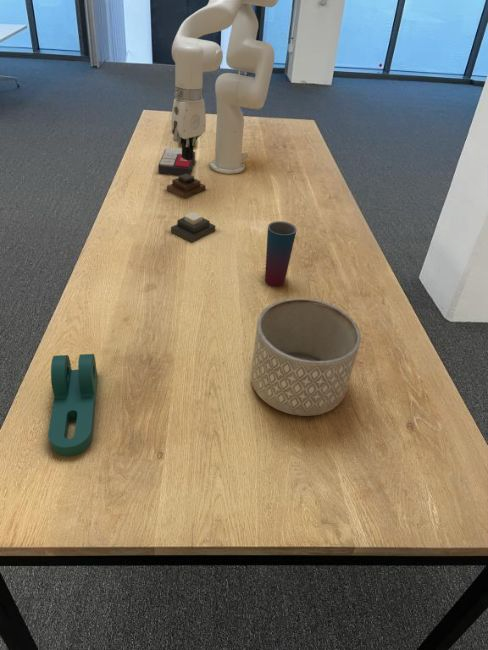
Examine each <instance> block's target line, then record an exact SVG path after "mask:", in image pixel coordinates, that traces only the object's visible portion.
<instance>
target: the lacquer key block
mask: <svg viewBox="0 0 488 650" xmlns="http://www.w3.org/2000/svg"><path fill="white" fill-rule="evenodd" d="M215 231H216V224H213V223H211V221H210V220H209V219H206V218H204V217H203V218H202V222H200V223H198V224H196V225H192V224H190V223H188V222H186V221H185V216H183V217H182V218H178V219H177V220H176V224H174V225H172V226H170V233H171V234H174V235H175V236H178V237H179V238H182V239H184V240H186V241H187V242H190V243H193V242H195V241H197V240H199V239H201V238H203V237H205V236H207V235H209V234H211V233H213V232H215Z"/></svg>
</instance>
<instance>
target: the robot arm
mask: <svg viewBox="0 0 488 650" xmlns="http://www.w3.org/2000/svg"><path fill="white" fill-rule="evenodd" d="M278 2H279V0H208V3H207V4H206V5H205V6H204V7H202V8H200V9H198V10H196V11H195V12H194V13H192V14H191V15H189V16H188V17H186V18H185V19H184V20H183V22H181V24H180V26H179V28H178V30H177V32H176V35H175V36H174V40H173V42H172V45H171V57H172V58H171V59H172V60H173V62H174V63H175V64H174V65H175V66H174V68H175V69H174V71H175V73H174V84H175V85H174V91H173V96H174V99H173V104H172V109H171V123H170V125H171V134H172V135H173V137H172V140H173V141H174V142H175V143H179V144H180V145H181V150H182V158H183V159H186V160H188V161H189V160H192V159H193V151H194V147H195V145H196V142H197V140H198V139H199V138H201V136H202V135H204V134H205V133H206V125H207V119H206V118H207V116H206V104H205V99H204V98H203V81H204V73H205V72H206V73H207V72H210V73H211V72H214V71H215V72H216V70H218V69H219V68H220V66H221V65H222V63H223V57H224V52H223V49H222V47H221V46H220V45H219V44H218V43H217V42H215V41H211V40H207V39H201V37H203V36H205V35H209V34H214V33H218V32H221V31H224V30H227V29H229V28H230V27H231V29H230V32H229V33H230V34H229V37H228V44H227V49H226V53H225V55H226V56H225V62H226V63H225V64H226V65H227V67H229V68H230V69H232V70H235V71H240V72H246V73H250V74H254V75H255V76H250V75H244V74H239V73H233V72H225V73H221V74H220V75H218V77H217V78H216V80H215V85H214V92H215V101H216V127H215V146H214V147H215V149H214V159H213V160H212V161H210V168H211V169H212V170H213V171H215V172H217V173H221V174H226V175H227V174H228V175H234V174H239V173H242V172H244V170H245V169H246V165H245V163H244V162H243V161H244V160H245V159H247V158H248V157H249V153H248V152H243V138H244V128H245V127H244V126H245V116H244V114H243V111H242V108H245V109H250V110H261V109H262V108H263V107H264V105H265V103H266V101H267V97H268V93H269V88H270V83H271V78H272V75H273V69H274V65H275V49H274V47H273V45H272V44H271V43H270V42H267V41H263V40H258V39H257V37H258V31H259V20H258V17H257V14H256V12H255V11H254V9H253V7H252V6H258V7H264V8H274V7H275V6H276V5H277V4H278ZM196 139H197V140H196ZM195 141H196V142H195ZM242 152H243V153H242Z"/></svg>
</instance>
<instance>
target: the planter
mask: <svg viewBox="0 0 488 650" xmlns="http://www.w3.org/2000/svg"><path fill="white" fill-rule="evenodd" d="M361 339H362V336H361V331H360V328H359V326H358V325H357V323H356V322H355V320H354V319H353V318H352V317H351V316H350V315H349V314H348V313H346V312H345V311H343V310H342V309H340V308H339V307H337V306H335V305H332V304H331V303H329V302H326V301H322V300H318V299H314V298H305V297H294V298H286V299H281V300H278V301H275V302H273V303H271V304H269V305H267V306H266V307H265V308H264V309H262V311H261V312H260V314H259V316H258V318H257V322H256V330H255V340H254V347H253V355H252V363H251V370H250V381H251V385H252V387H253V389H254V391H255V393H256V394H257V395H258V397H259V398H260V399H261V400H262V401H263V402H265V403H266V404H267V405H269V406H270V407H272V408H274V409H275V410H278V411H281V412H282V413H286V414H289V415H295V416H302V417H303V416H305V417H309V416H312V417H313V416H318V415H323V414H325V413H329V412H331V411H332V410H334V409H335V408H336V407H338V406H339V405H340V404H341V402H342V401H343V400H344V399H345V395H346V392H347V390H348V387H349V382H350V378H351V376H352V372H353V368H354V365H355V362H356V359H357V354H358V351H359V348H360V345H361Z"/></svg>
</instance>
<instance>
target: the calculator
mask: <svg viewBox="0 0 488 650" xmlns="http://www.w3.org/2000/svg"><path fill="white" fill-rule="evenodd" d="M195 163H196V152H195V151H194V150H193V159H192V160H189V161H188V160H186V159H183V158H182V149H176V148H165V150H164V151H163V154H162V156H161V158H160V160H159V163H158V166H157V168H158V169H157V170H158V171H157V172H158V174H160V175H169V176H170V175H171V176H178V177H179V176H181V175H183V174H189V175H191V173H192V170H193V168H194V165H195Z"/></svg>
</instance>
